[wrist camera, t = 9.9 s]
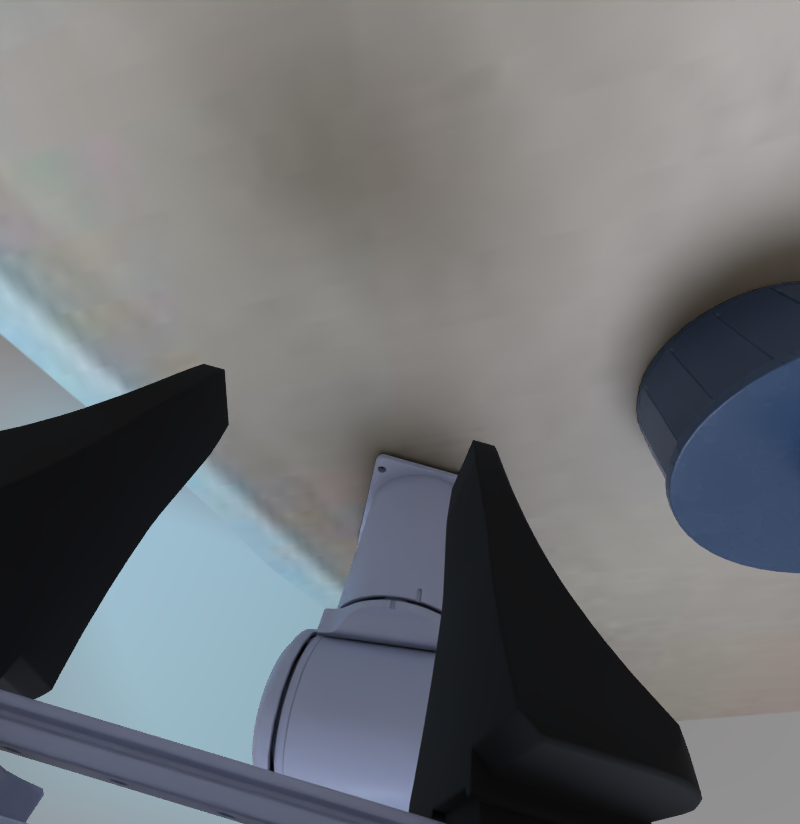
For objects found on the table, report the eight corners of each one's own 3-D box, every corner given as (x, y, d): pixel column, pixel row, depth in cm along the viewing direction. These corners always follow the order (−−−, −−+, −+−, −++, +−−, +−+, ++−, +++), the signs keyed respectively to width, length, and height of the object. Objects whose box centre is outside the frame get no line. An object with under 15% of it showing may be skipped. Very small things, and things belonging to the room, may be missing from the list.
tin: (786, 495, 22) (861, 584, 17) (598, 443, 22) (625, 518, 18) (985, 317, 16) (1175, 384, 11) (722, 250, 16) (809, 291, 12)
